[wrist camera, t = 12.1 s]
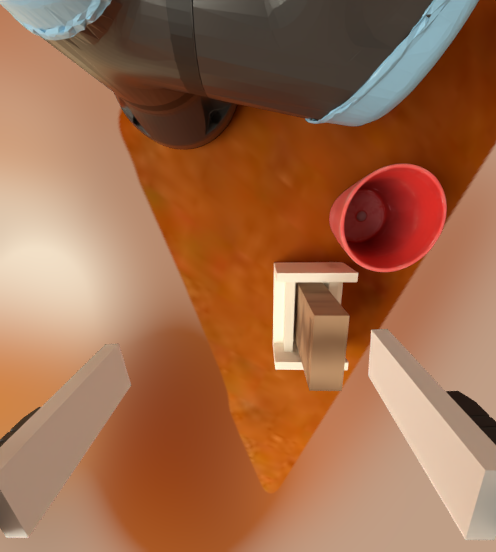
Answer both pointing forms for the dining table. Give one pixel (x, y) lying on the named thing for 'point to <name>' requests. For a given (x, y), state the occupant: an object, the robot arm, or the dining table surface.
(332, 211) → the flower pot
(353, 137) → the dining table surface
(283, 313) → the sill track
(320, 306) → the walnut panel
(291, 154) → the dining table surface
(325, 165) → the dining table surface
